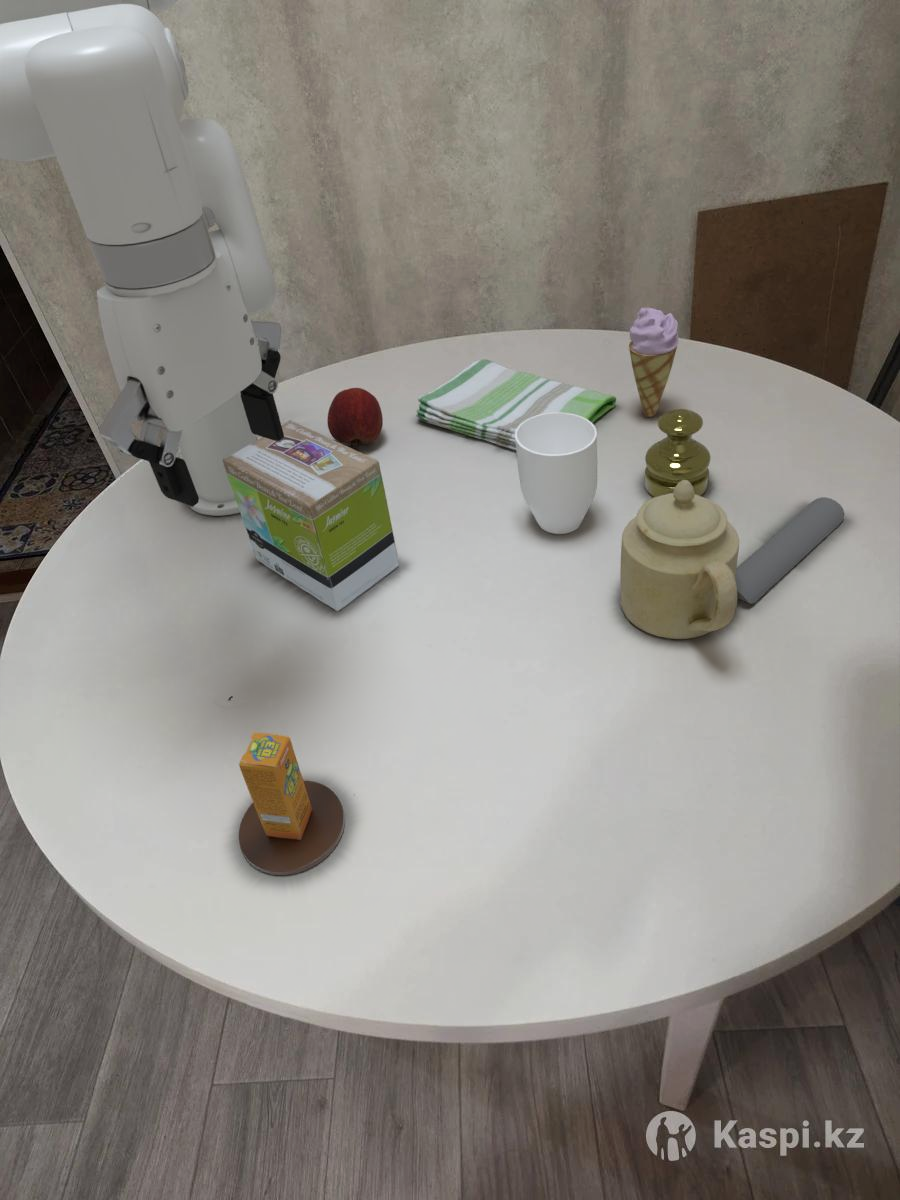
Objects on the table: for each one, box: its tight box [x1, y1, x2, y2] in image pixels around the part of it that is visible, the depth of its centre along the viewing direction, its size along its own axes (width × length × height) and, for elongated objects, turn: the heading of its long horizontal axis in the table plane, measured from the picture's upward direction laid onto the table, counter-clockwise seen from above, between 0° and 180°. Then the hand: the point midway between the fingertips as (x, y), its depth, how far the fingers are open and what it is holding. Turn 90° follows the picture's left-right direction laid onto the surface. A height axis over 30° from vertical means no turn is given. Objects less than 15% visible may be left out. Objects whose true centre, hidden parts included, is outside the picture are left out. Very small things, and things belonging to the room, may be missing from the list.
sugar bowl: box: [619, 480, 740, 640], centre depth 82 cm, size 15×11×15 cm
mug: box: [515, 412, 598, 535], centre depth 98 cm, size 12×9×12 cm
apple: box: [326, 387, 384, 449], centre depth 117 cm, size 7×8×8 cm
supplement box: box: [238, 732, 312, 840], centre depth 70 cm, size 3×3×10 cm
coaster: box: [238, 779, 346, 876], centre depth 73 cm, size 9×9×1 cm
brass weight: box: [644, 408, 712, 498], centre depth 100 cm, size 7×7×10 cm
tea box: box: [223, 419, 400, 612], centre depth 95 cm, size 15×10×15 cm, turn 47°
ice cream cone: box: [628, 307, 679, 418], centre depth 112 cm, size 7×6×15 cm
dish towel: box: [415, 358, 617, 451], centre depth 119 cm, size 17×23×4 cm
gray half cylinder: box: [735, 496, 846, 605], centre depth 92 cm, size 4×20×2 cm, turn 134°
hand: (227, 466), depth 69 cm, fingers open, 9 cm apart
